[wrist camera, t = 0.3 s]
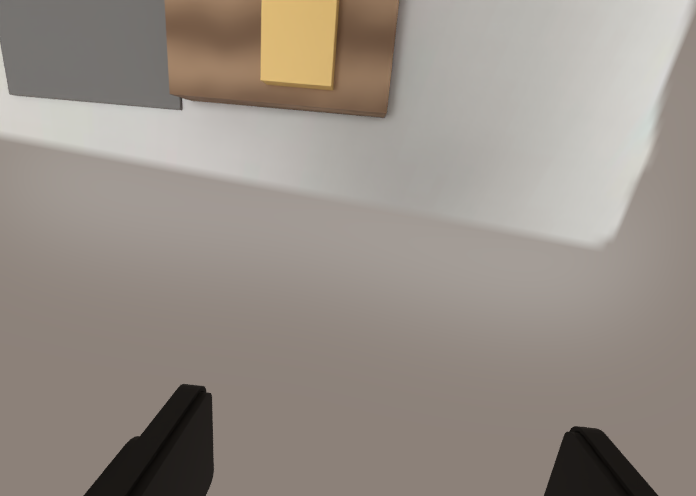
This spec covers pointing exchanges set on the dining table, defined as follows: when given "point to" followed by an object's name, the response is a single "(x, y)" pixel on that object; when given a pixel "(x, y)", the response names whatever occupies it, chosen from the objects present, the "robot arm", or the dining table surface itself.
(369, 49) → the brown wooden block
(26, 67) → the mat
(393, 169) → the dining table surface
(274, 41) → the yellow rectangular block
